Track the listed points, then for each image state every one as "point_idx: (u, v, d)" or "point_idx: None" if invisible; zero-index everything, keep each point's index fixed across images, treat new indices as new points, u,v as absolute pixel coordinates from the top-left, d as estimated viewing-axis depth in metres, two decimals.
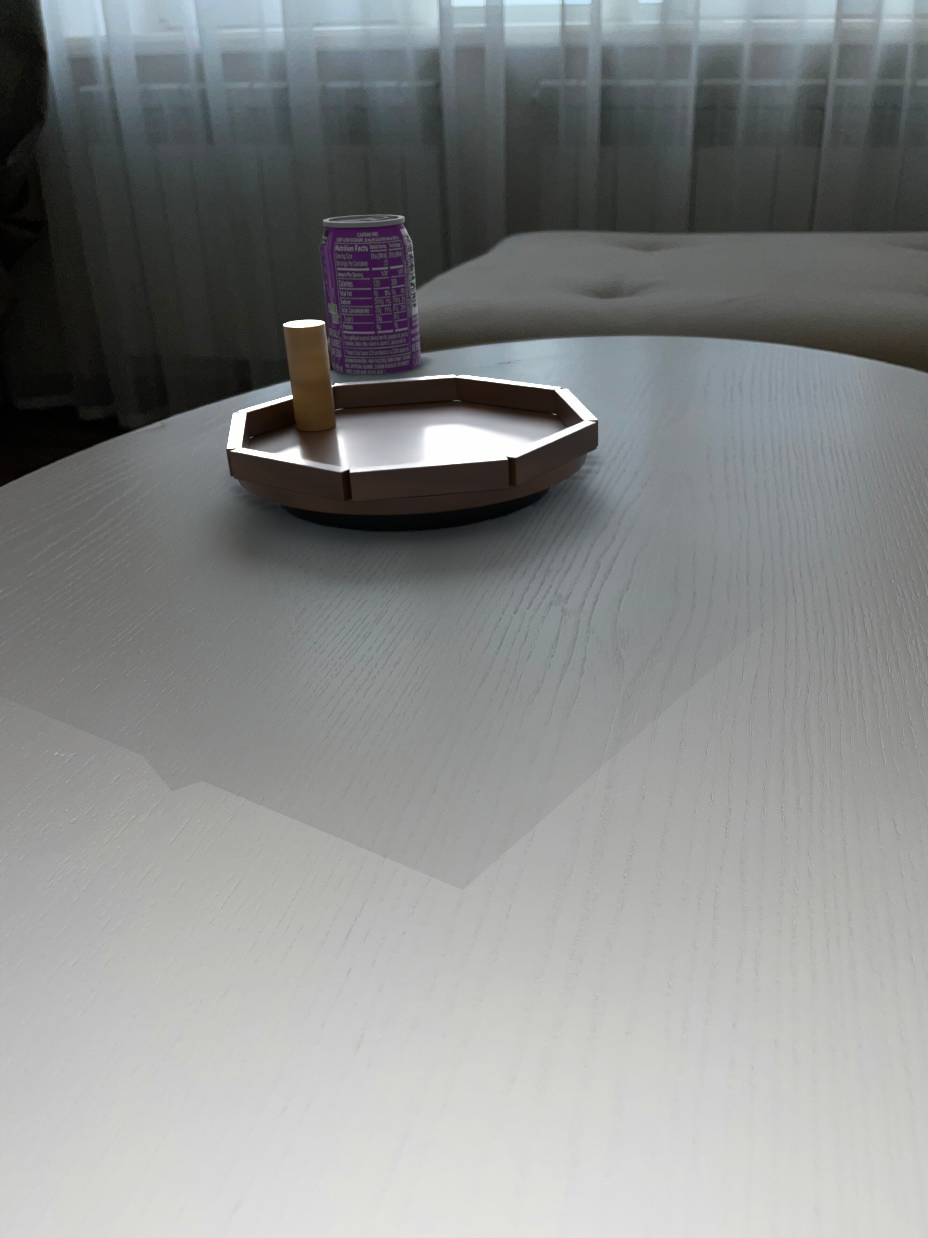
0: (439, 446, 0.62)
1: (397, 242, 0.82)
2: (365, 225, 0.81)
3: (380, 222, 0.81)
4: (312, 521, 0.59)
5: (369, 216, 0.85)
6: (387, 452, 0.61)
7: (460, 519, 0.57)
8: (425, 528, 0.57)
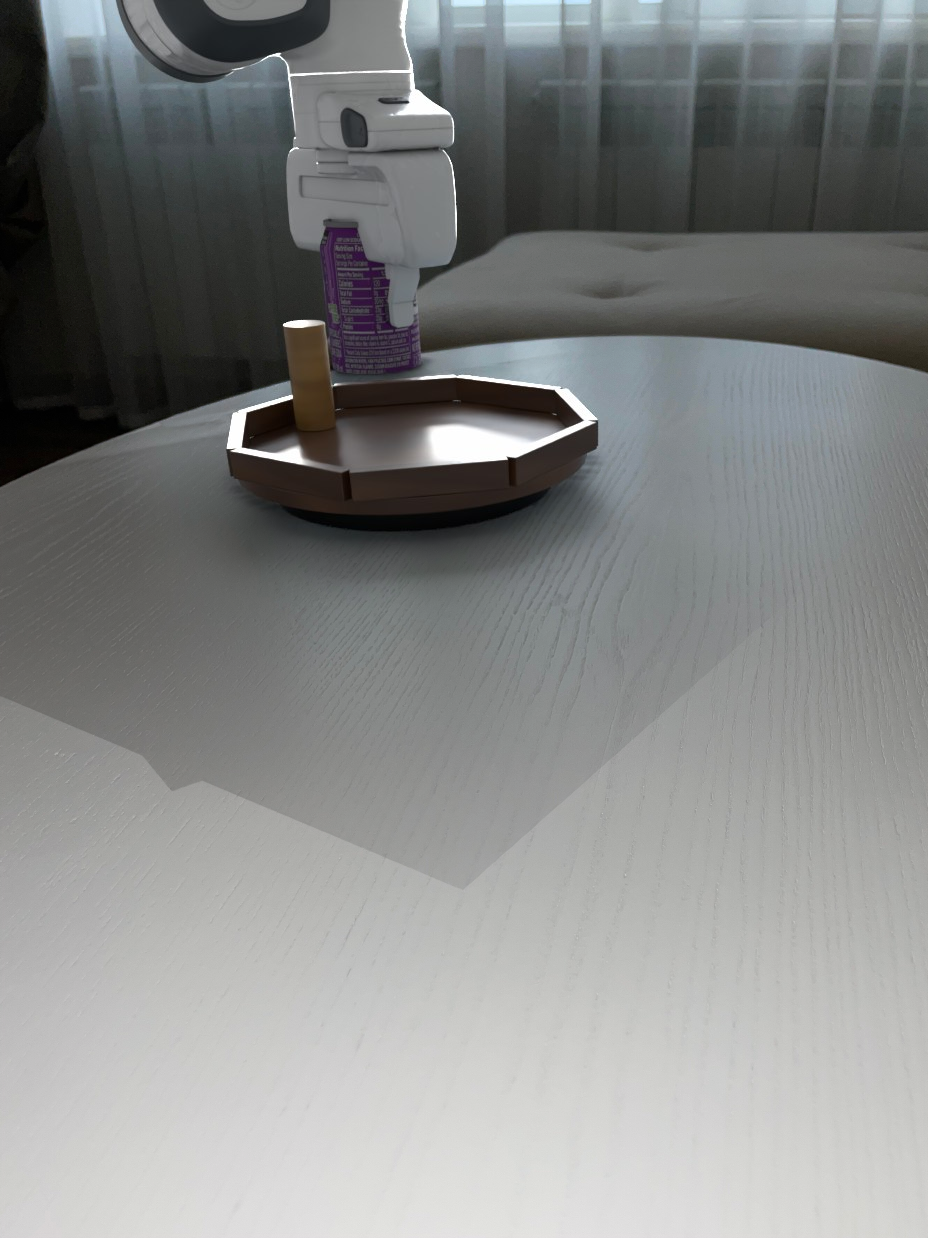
0: (439, 446, 0.62)
1: None
2: None
3: None
4: (312, 521, 0.59)
5: None
6: (387, 452, 0.61)
7: (460, 519, 0.57)
8: (425, 528, 0.57)
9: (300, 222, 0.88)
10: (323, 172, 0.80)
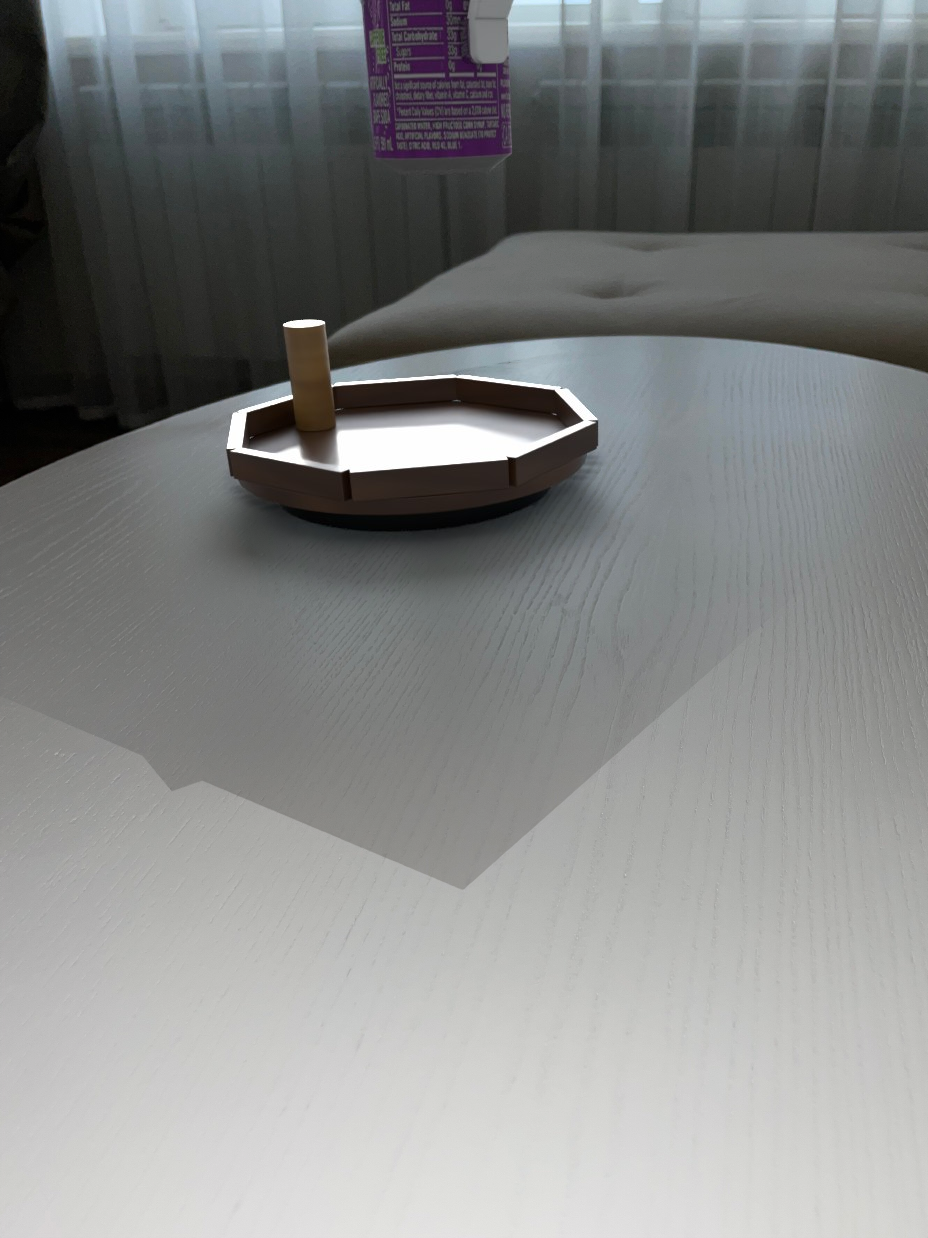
0: (439, 446, 0.62)
1: None
2: None
3: None
4: (312, 521, 0.59)
5: None
6: (387, 452, 0.61)
7: (460, 519, 0.57)
8: (425, 528, 0.57)
9: None
10: None
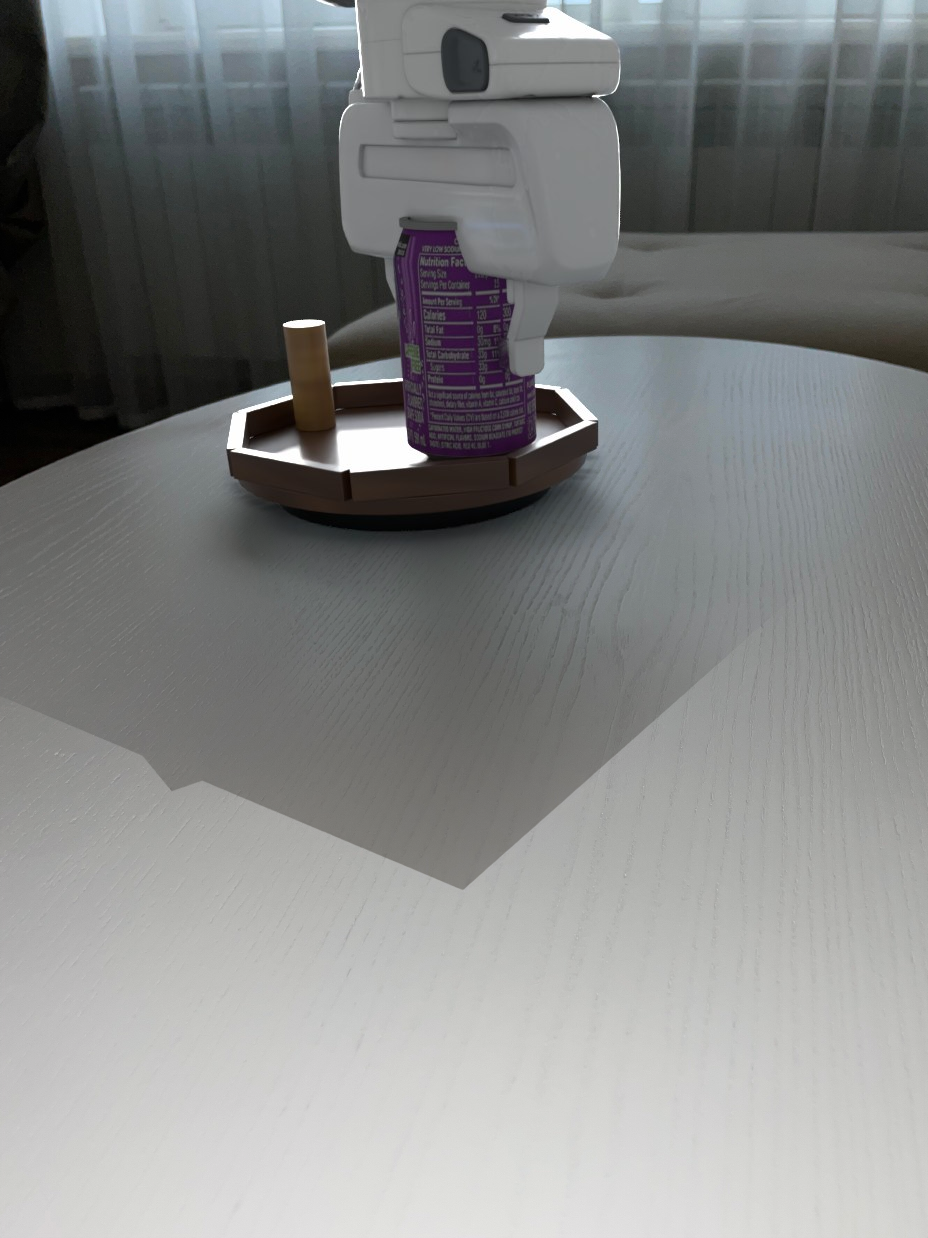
0: None
1: None
2: None
3: None
4: (312, 521, 0.59)
5: None
6: (387, 452, 0.61)
7: (460, 519, 0.57)
8: (425, 528, 0.57)
9: (359, 215, 0.60)
10: (405, 136, 0.51)
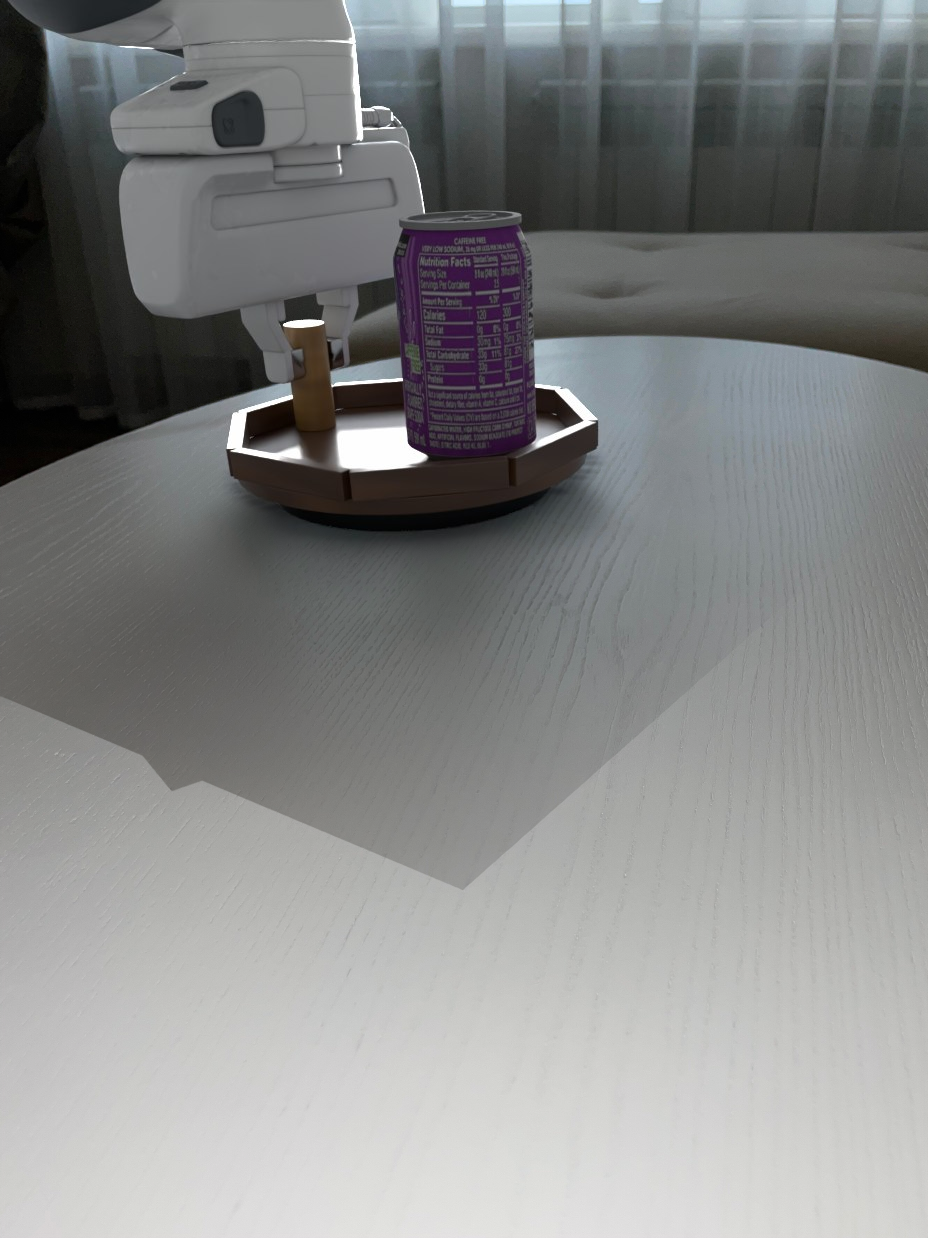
0: None
1: (513, 252, 0.54)
2: (467, 226, 0.53)
3: (490, 222, 0.53)
4: (312, 521, 0.59)
5: (464, 213, 0.57)
6: (387, 452, 0.61)
7: (460, 519, 0.57)
8: (425, 528, 0.57)
9: None
10: None
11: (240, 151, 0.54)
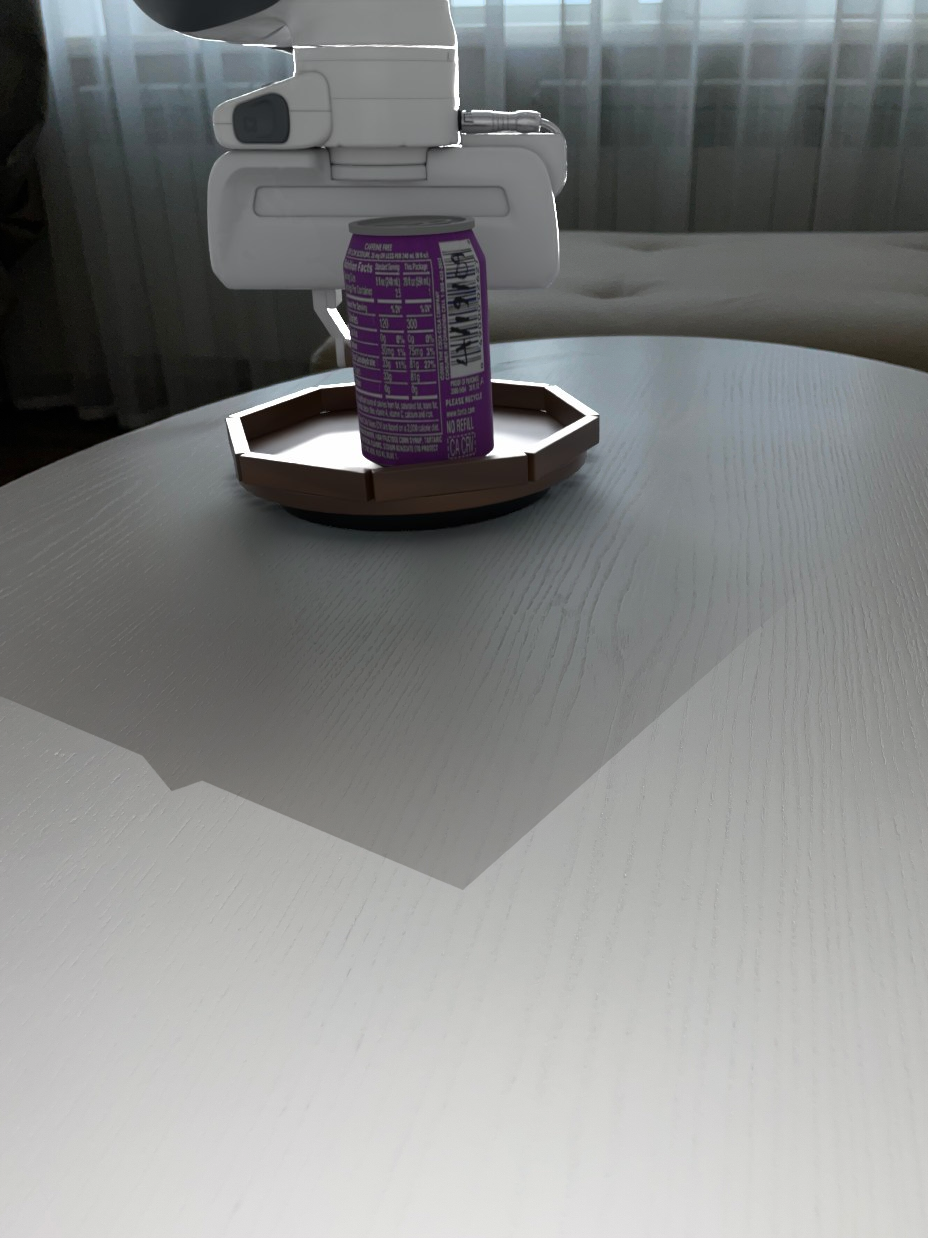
0: None
1: (422, 263, 0.51)
2: (375, 232, 0.51)
3: (396, 229, 0.51)
4: (312, 521, 0.59)
5: (449, 217, 0.55)
6: None
7: (460, 519, 0.57)
8: (425, 528, 0.57)
9: None
10: None
11: (264, 148, 0.59)
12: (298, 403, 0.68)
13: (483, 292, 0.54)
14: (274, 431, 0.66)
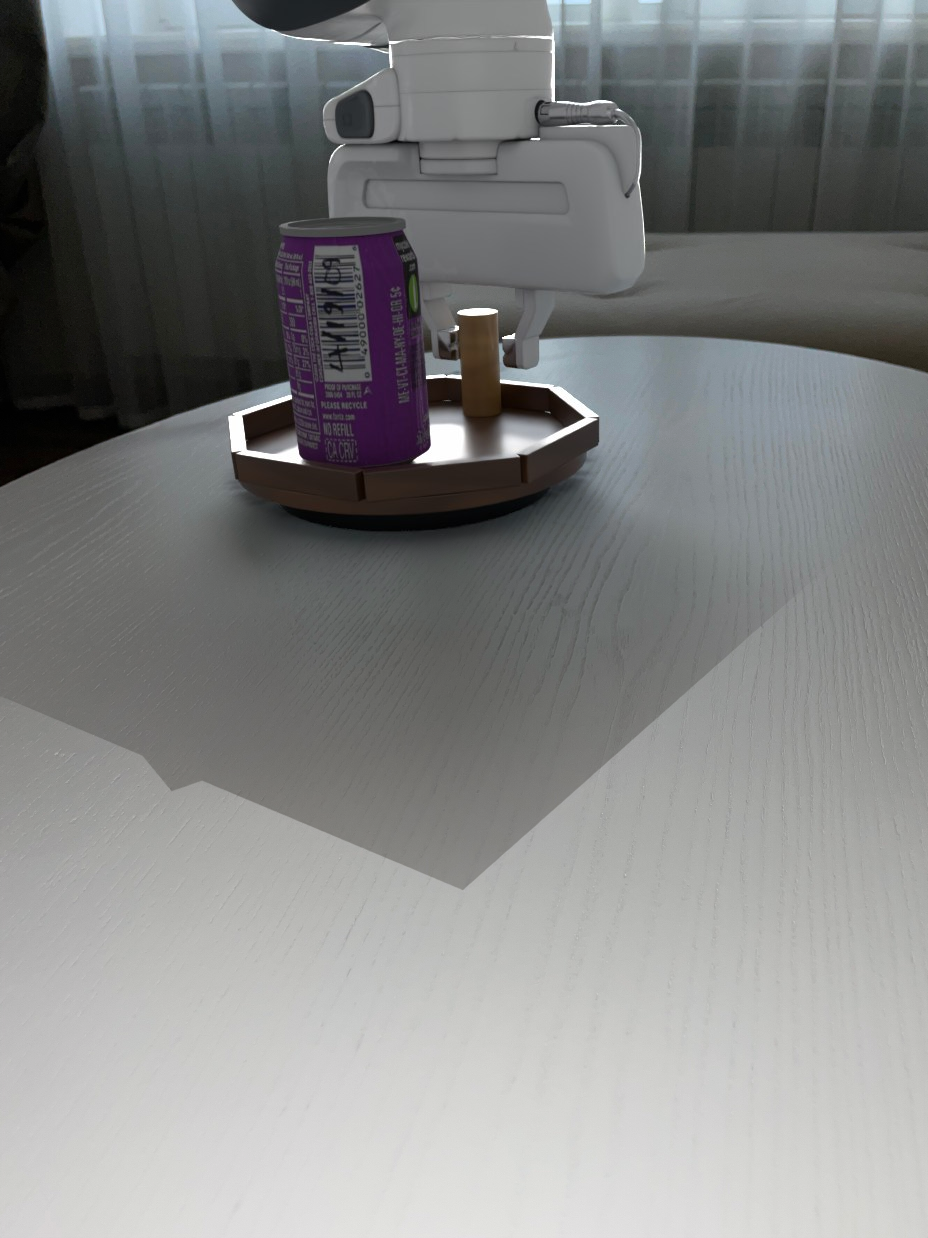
0: None
1: (296, 264, 0.52)
2: None
3: (284, 229, 0.53)
4: (312, 521, 0.59)
5: None
6: None
7: (460, 519, 0.57)
8: (425, 528, 0.57)
9: None
10: None
11: (358, 142, 0.62)
12: None
13: (372, 301, 0.53)
14: None
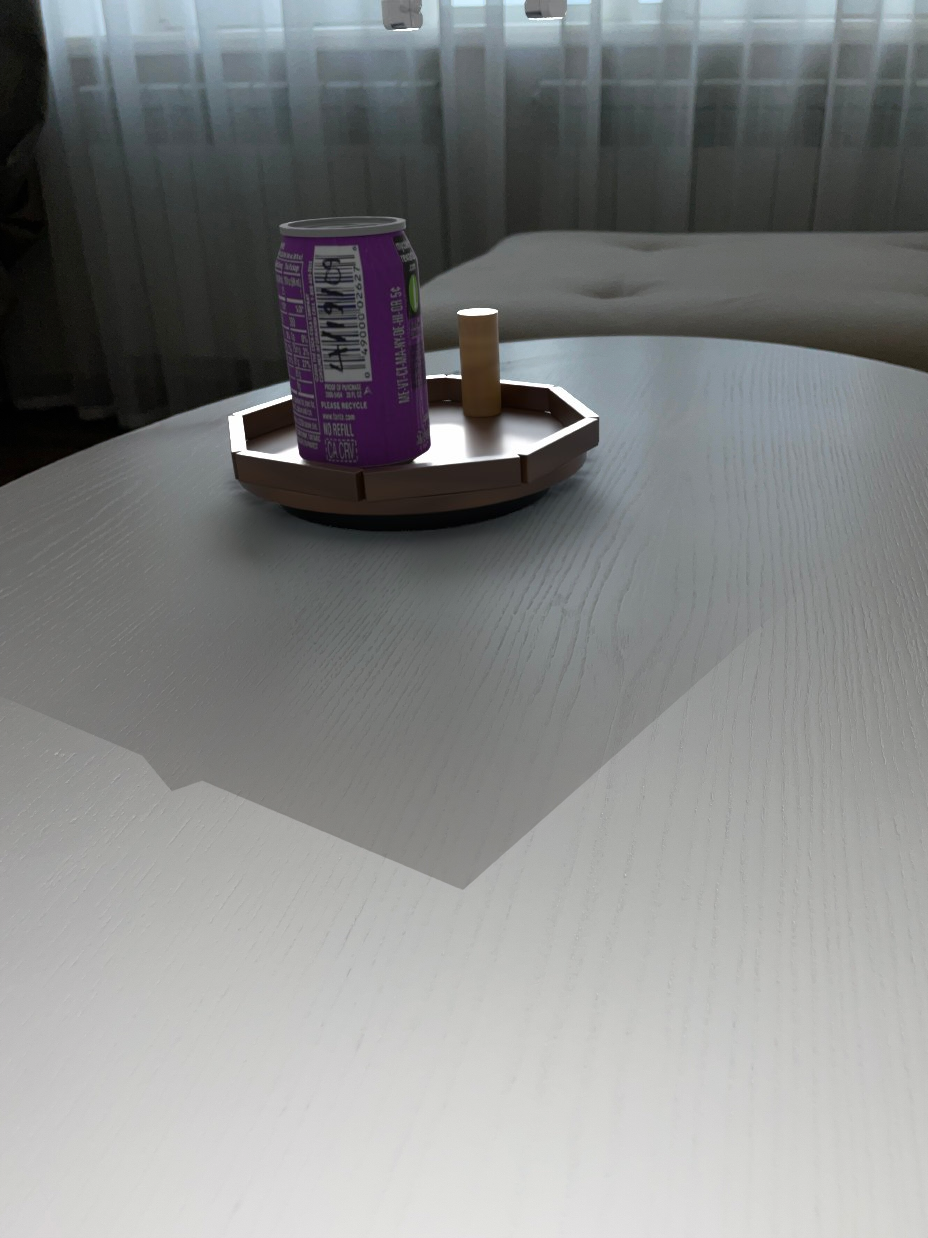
0: None
1: (296, 264, 0.52)
2: None
3: (284, 229, 0.53)
4: (312, 521, 0.59)
5: None
6: None
7: (460, 519, 0.57)
8: (425, 528, 0.57)
9: None
10: None
11: None
12: None
13: (372, 301, 0.53)
14: None
